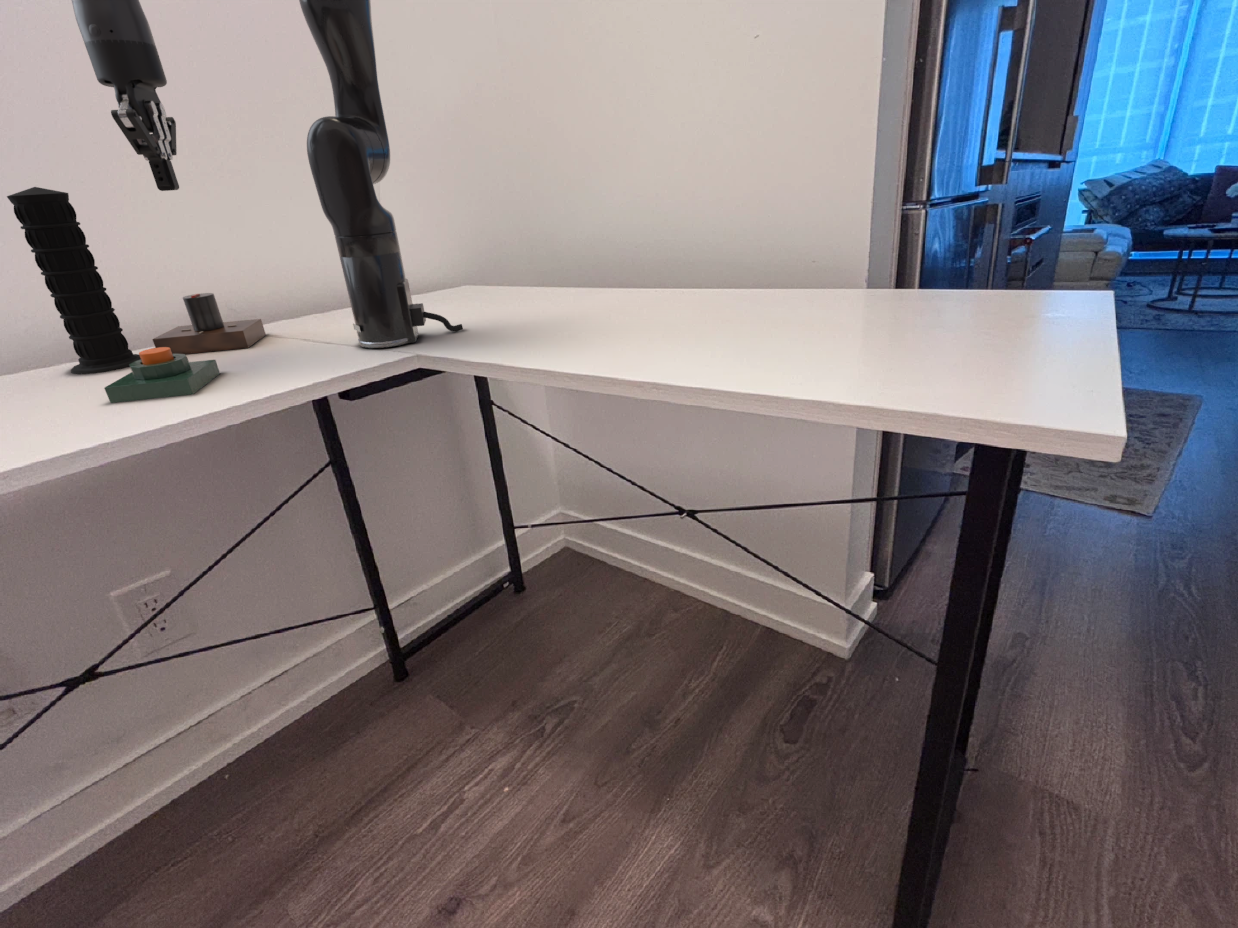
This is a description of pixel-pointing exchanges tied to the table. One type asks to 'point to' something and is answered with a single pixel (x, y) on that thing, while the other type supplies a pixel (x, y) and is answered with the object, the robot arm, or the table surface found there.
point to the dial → (203, 311)
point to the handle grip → (72, 280)
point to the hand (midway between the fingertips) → (169, 190)
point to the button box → (162, 379)
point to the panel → (212, 337)
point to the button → (156, 355)
